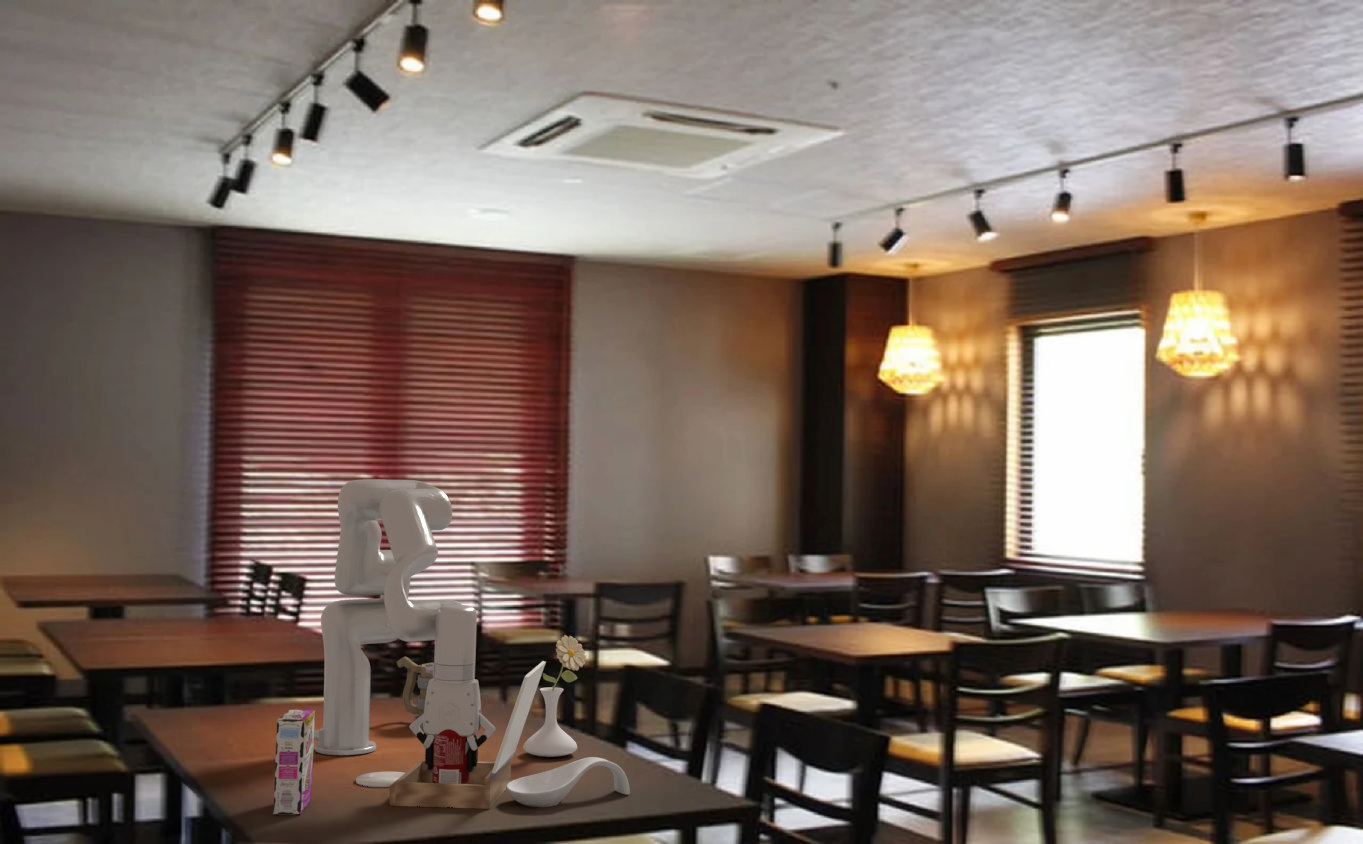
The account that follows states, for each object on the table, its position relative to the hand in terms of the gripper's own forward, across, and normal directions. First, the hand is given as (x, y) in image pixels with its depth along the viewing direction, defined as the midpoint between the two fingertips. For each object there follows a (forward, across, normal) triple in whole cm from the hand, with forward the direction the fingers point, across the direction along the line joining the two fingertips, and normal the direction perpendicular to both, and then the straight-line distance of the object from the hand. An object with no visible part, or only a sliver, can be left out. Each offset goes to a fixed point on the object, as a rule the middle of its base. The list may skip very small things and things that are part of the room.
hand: (451, 768), depth 260 cm
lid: (-10, +12, 0) cm, 16 cm away
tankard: (+6, -20, +68) cm, 72 cm away
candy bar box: (+5, -24, -15) cm, 29 cm away
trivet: (+5, -14, +8) cm, 17 cm away
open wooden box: (+5, 0, -1) cm, 5 cm away
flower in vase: (+5, +14, +37) cm, 40 cm away
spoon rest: (+5, +22, -1) cm, 23 cm away
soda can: (+4, 0, 0) cm, 4 cm away
